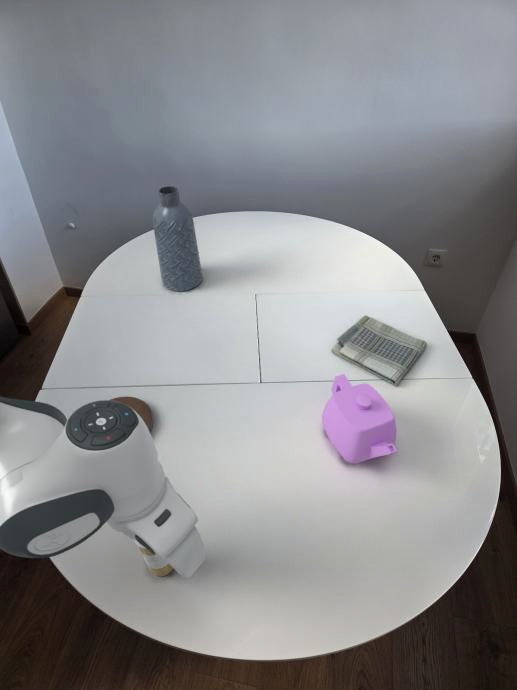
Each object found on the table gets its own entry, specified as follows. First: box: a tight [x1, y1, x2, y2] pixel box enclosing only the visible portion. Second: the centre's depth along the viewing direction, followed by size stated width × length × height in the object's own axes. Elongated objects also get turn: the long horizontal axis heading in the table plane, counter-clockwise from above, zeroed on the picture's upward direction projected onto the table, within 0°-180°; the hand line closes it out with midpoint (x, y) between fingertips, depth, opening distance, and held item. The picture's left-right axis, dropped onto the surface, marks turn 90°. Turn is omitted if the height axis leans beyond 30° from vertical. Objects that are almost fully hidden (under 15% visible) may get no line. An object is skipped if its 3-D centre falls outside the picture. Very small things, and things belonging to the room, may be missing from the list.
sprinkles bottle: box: [133, 539, 174, 577], centre depth 67 cm, size 5×5×14 cm
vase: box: [152, 185, 203, 292], centre depth 121 cm, size 12×12×28 cm
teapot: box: [321, 373, 398, 464], centre depth 84 cm, size 20×12×13 cm, turn 22°
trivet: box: [109, 396, 154, 433], centre depth 91 cm, size 14×14×2 cm
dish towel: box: [330, 315, 428, 386], centre depth 107 cm, size 19×18×3 cm
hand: (154, 538), depth 65 cm, fingers open, 8 cm apart
